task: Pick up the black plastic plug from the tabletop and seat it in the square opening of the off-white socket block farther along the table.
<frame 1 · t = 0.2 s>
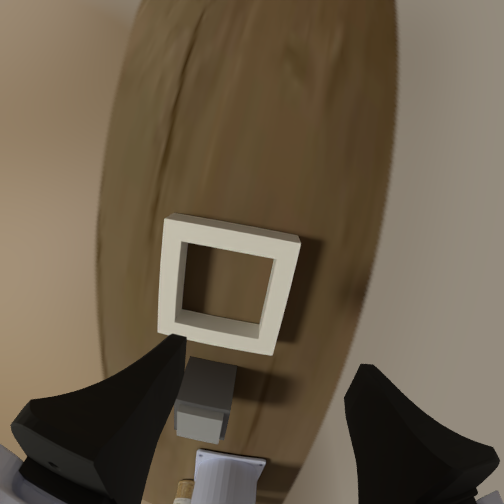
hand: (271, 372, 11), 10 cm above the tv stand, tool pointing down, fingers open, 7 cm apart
sprinkles bottle: (194, 484, 31), on the tv stand
socket block: (225, 281, 21), on the tv stand
black plug: (211, 377, 24), on the tv stand
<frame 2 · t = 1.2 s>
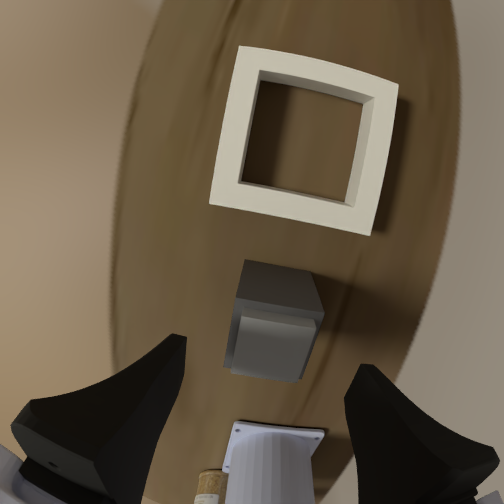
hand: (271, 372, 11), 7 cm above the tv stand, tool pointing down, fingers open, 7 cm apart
sprinkles bottle: (220, 475, 26), on the tv stand
socket block: (304, 139, 15), on the tv stand
black plug: (271, 295, 18), on the tv stand
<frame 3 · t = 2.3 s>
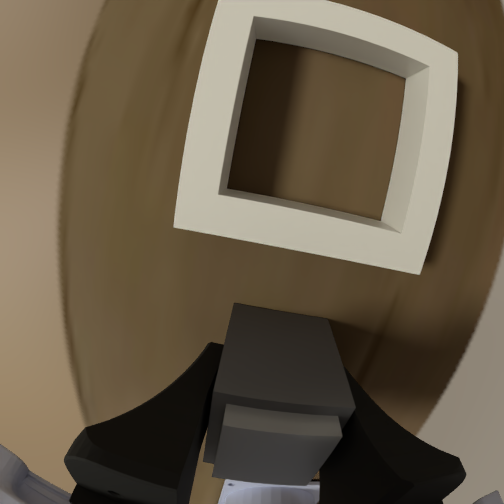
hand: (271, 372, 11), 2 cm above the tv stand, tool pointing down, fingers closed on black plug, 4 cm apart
socket block: (323, 125, 10), on the tv stand
black plug: (271, 349, 13), on the tv stand, touching gripper
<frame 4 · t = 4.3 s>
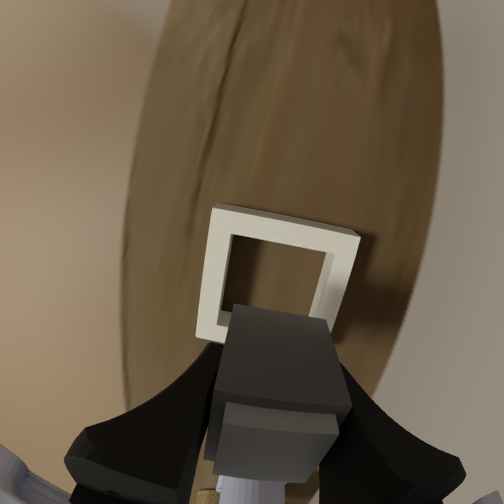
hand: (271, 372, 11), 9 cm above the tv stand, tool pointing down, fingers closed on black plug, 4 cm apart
sprinkles bottle: (214, 493, 29), on the tv stand
socket block: (272, 279, 19), on the tv stand
black plug: (270, 349, 13), point 7 cm above the tv stand, touching gripper
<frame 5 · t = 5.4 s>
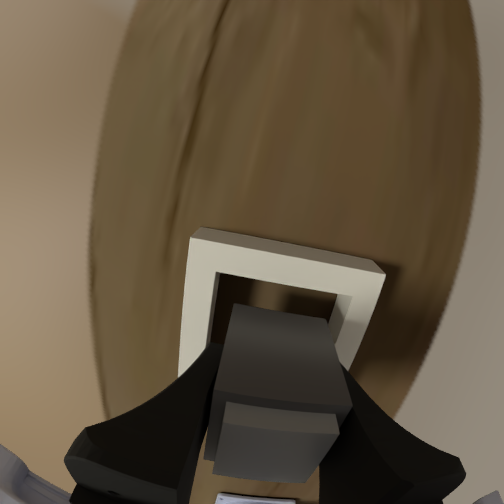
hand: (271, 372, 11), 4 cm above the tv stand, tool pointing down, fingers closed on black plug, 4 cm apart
socket block: (271, 321, 15), on the tv stand
black plug: (271, 348, 13), point 2 cm above the tv stand, touching gripper
when the fingers open (3 cm above the tv stand, at t = 6.2 s): black plug drops 1 cm, resting in socket block.
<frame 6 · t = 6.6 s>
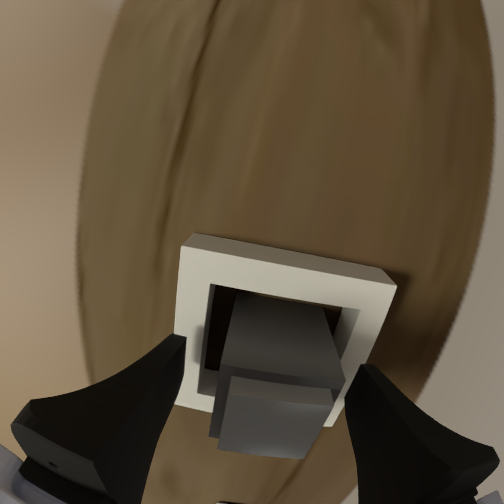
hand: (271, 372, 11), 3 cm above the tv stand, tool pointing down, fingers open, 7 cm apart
socket block: (271, 333, 14), on the tv stand
black plug: (271, 335, 14), resting in socket block
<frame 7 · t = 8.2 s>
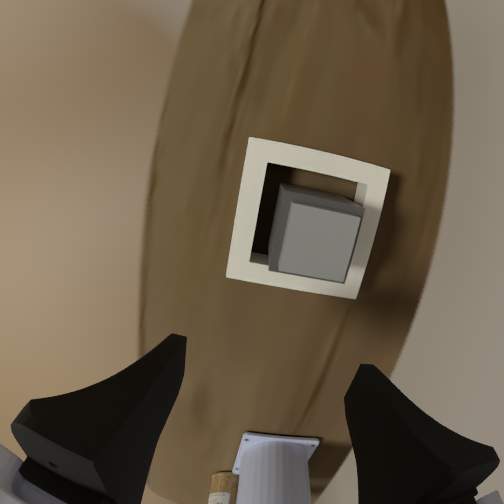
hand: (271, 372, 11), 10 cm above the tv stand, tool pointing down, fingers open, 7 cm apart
sprinkles bottle: (229, 476, 29), on the tv stand
socket block: (304, 216, 19), on the tv stand
black plug: (304, 218, 19), resting in socket block
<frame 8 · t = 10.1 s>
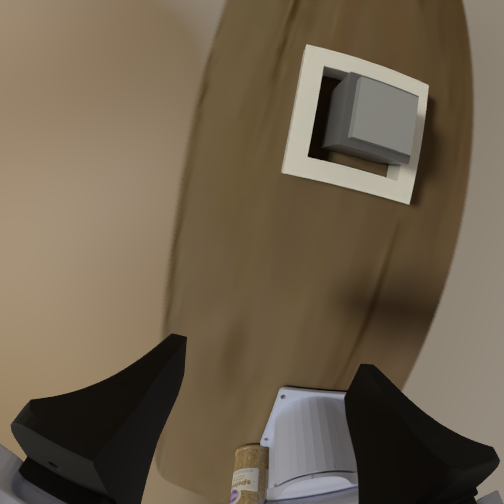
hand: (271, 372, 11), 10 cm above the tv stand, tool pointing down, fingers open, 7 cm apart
sprinkles bottle: (255, 451, 28), on the tv stand
socket block: (354, 125, 17), on the tv stand
black plug: (354, 127, 18), resting in socket block
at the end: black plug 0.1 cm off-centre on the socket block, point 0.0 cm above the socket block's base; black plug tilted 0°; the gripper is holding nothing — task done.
